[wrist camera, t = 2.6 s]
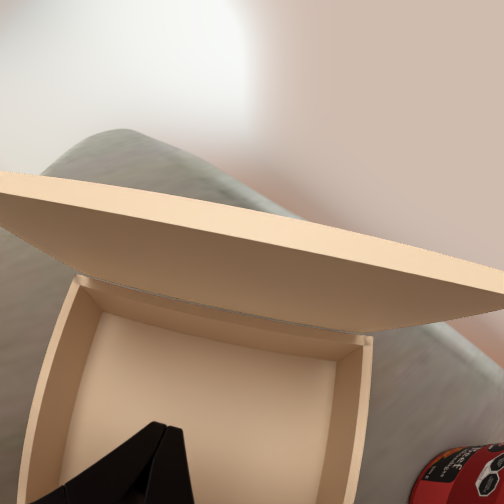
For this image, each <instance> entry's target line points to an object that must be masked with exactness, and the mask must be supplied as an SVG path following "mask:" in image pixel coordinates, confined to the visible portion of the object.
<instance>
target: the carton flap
mask: <svg viewBox="0 0 504 504" xmlns="http://www.w3.org/2000/svg"><path fill="white" fill-rule="evenodd" d="M0 226H1V227H3V228H5V229H6V230H8V231H9V232H11V233H13V234H14V235H16V236H18V237H19V238H21V239H23V240H24V241H26V242H28V243H29V244H31V245H33V246H34V247H36V248H38V249H40V250H41V251H43V252H45V253H47V254H48V255H50V256H52V257H54V258H56V259H57V260H59V261H61V262H63V263H65V264H67V265H68V266H70V267H72V268H74V269H76V270H78V271H80V272H82V273H84V274H85V275H88V276H91V277H95V278H98V279H102V280H106V281H109V282H113V283H117V284H120V285H124V286H128V287H132V288H136V289H140V290H144V291H148V292H152V293H156V294H160V295H164V296H168V297H172V298H177V299H181V300H185V301H190V302H194V303H198V304H203V305H207V306H212V307H217V308H221V309H226V310H231V311H236V312H241V313H246V314H251V315H256V316H261V317H266V318H271V319H277V320H282V321H288V322H293V323H299V324H305V325H311V326H317V327H323V328H329V329H336V330H342V331H349V332H355V333H365V332H374V331H382V330H390V329H397V328H404V327H411V326H417V325H424V324H430V323H436V322H442V321H447V320H453V319H458V318H463V317H468V316H473V315H478V314H483V313H488V312H492V311H497V310H501V309H504V271H501V270H497V269H494V268H490V267H487V266H483V265H480V264H476V263H473V262H469V261H466V260H462V259H458V258H455V257H451V256H447V255H444V254H440V253H436V252H432V251H429V250H425V249H421V248H417V247H413V246H409V245H405V244H401V243H397V242H393V241H389V240H385V239H381V238H376V237H373V236H368V235H364V234H359V233H356V232H351V231H347V230H343V229H338V228H334V227H330V226H325V225H321V224H316V223H312V222H307V221H302V220H298V219H293V218H288V217H283V216H279V215H274V214H269V213H264V212H259V211H254V210H249V209H244V208H239V207H234V206H228V205H223V204H218V203H212V202H207V201H202V200H196V199H191V198H185V197H179V196H173V195H168V194H162V193H156V192H150V191H144V190H137V189H131V188H125V187H118V186H112V185H105V184H98V183H91V182H84V181H77V180H70V179H62V178H54V177H46V176H38V175H30V174H21V173H11V172H3V171H0Z"/></svg>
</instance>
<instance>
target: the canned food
mask: <svg viewBox="0 0 504 504" xmlns="http://www.w3.org/2000/svg"><path fill="white" fill-rule="evenodd" d="M409 504H504V443H497V444H489V445H480V446H470V447H458V448H454V449H451V450H449V451H447V452H445V453H443V454H441V455H439V456H438V457H436V458H435V459H434V460H432V461H431V462H430V463H429V464H428V465H427V467H426V468H425V469H424V470H423V472H422V473H421V474H420V476H419V478H418V479H417V481H416V483H415V485H414V488H413V490H412V493H411V496H410V501H409Z"/></svg>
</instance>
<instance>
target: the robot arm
mask: <svg viewBox="0 0 504 504" xmlns="http://www.w3.org/2000/svg"><path fill="white" fill-rule="evenodd" d="M29 504H195V501H194V496H193V490H192V485H191V479H190V473H189V467H188V461H187V454H186V448H185V441H184V433H183V429H182V428H178V427H174V426H170V425H169V426H168V427H167V425H166V424H163V423H160V422H156V421H152V422H150V423H149V424H148V425H146V426H145V427H144V428H142V429H141V430H140V431H138V432H137V433H136V434H134V435H133V436H132V437H130V438H129V439H128V440H126V441H125V442H124V443H122V444H121V445H120V446H118V447H117V448H115V449H114V450H113V451H111V452H110V453H108V454H107V455H106V456H104V457H103V458H101V459H100V460H98V461H97V462H96V463H94V464H93V465H91V466H90V467H88V468H87V469H85V470H84V471H83V472H81V473H80V474H78V475H77V476H75V477H74V478H72V479H71V480H69V481H68V482H66V483H65V484H64V485H61V486H60V487H58V488H57V489H55V490H53V491H52V492H50V493H48V494H47V495H45V496H43V497H41V498H40V499H38V500H36V501H33V502H31V503H29Z"/></svg>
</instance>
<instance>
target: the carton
mask: <svg viewBox="0 0 504 504" xmlns="http://www.w3.org/2000/svg"><path fill="white" fill-rule="evenodd" d="M372 351H373V337H370V336H363V335H356V334H349V333H342V332H336V331H329V330H323V329H317V328H311V327H305V326H299V325H293V324H288V323H282V322H277V321H271V320H266V319H261V318H256V317H250V316H245V315H240V314H236V313H231V312H226V311H221V310H216V309H212V308H207V307H203V306H198V305H194V304H189V303H185V302H181V301H177V300H172V299H168V298H164V297H160V296H156V295H152V294H148V293H144V292H140V291H136V290H132V289H128V288H124V287H121V286H117V285H113V284H110V283H106V282H102V281H99V280H95V279H92V278H88V277H85V276H81V275H78V274H75V277H74V279H73V282H72V284H71V286H70V289H69V291H68V294H67V296H66V299H65V301H64V304H63V307H62V309H61V312H60V315H59V317H58V320H57V323H56V326H55V328H54V331H53V334H52V337H51V340H50V343H49V346H48V349H47V352H46V356H45V359H44V362H43V366H42V369H41V372H40V376H39V380H38V383H37V387H36V391H35V395H34V399H33V403H32V407H31V412H30V416H29V421H28V426H27V431H26V436H25V442H24V447H23V454H22V460H21V468H20V476H19V485H18V496H17V504H29V503H31V502H33V501H36V500H38V499H40V498H41V497H43V496H45V495H47V494H48V493H50V492H52V491H53V490H55V489H57V488H58V487H60V486H61V485H64V484H65V483H66V482H68V481H69V480H71V479H72V478H74V477H75V476H77V475H78V474H80V473H81V472H83V471H84V470H85V469H87V468H88V467H90V466H91V465H93V464H94V463H96V462H97V461H98V460H100V459H101V458H103V457H104V456H106V455H107V454H108V453H110V452H111V451H113V450H114V449H115V448H117V447H118V446H120V445H121V444H122V443H124V442H125V441H126V440H128V439H129V438H130V437H132V436H133V435H134V434H136V433H137V432H138V431H140V430H141V429H142V428H144V427H145V426H146V425H148V424H149V423H150V422H152V421H156V422H160V423H163V424H166V425H167V427H168V426H169V425H170V426H174V427H178V428H182V429H183V433H184V441H185V448H186V454H187V461H188V467H189V473H190V479H191V485H192V490H193V496H194V501H195V504H353V503H354V499H355V494H356V489H357V483H358V478H359V472H360V466H361V460H362V454H363V447H364V440H365V432H366V424H367V416H368V406H369V395H370V383H371V369H372Z"/></svg>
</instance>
